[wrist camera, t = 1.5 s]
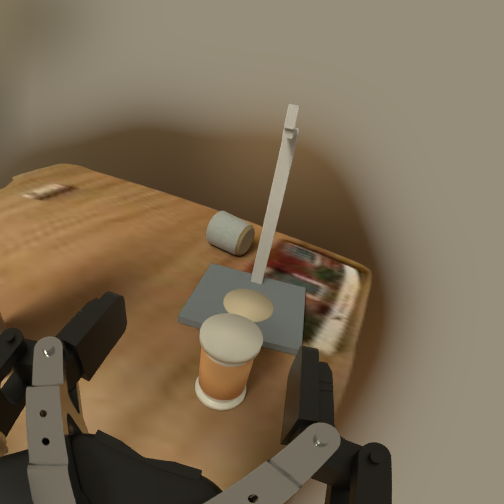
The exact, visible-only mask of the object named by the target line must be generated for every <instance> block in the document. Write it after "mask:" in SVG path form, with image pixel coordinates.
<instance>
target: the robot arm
mask: <svg viewBox="0 0 504 504" xmlns="http://www.w3.org/2000/svg"><path fill="white" fill-rule="evenodd" d="M126 325H127V318H126V310H125V301H124V297H123V296H121V295H118V294H115V293H112V292H109V291H108V292H106V293H105V294H104V295H103V296H102V297H101V298H100V299H97V298H96V299H94V300H92V301H90V302H88V303H87V304H86V305H85V306H84V307H83V308H82V309H81V311H79V312H78V313H77V314H76V315H75V317H73V318H72V319H71V320H70V322H69V323H68V324H67V325H66V326H65V327H64V328H63V329H62V330H61V331H60V332H59V333H58V334H57V336H56V337H52V336H48V337H44V338H42V339H40V340H39V341H38V342H37V341H32V340H28V339H24V337H23V335H22V333H21V331H20V330H19V329H16V328H9V329H7V327H6V325H5V323H4V320H3V318H2V316H1V313H0V385H1V382H2V380H3V379H4V377H5V376H6V375H7V373H8V372H9V371H10V369H11V368H12V369H13V371H14V372H13V373H12V374H11V376H10V377H9V378H8V380H7V381H6V383H5V384H4V385H3V387H2V388H1V389H0V504H283V503H285V502H286V501H287V500H288V499H289V498H290V497H291V496H293V495H294V494H295V493H296V492H297V491H298V490H299V489H300V488H301V486H302V485H303V484H304V483H305V482H306V481H307V480H308V479H309V478H312V479H315V480H317V481H320V482H323V483H325V484H327V490H326V498H325V504H392V471H391V469H392V468H391V455H390V452H389V450H388V449H387V448H386V447H385V446H383V445H382V444H379V443H368V444H366V445H364V446H360V445H358V444H355V443H352V442H349V441H347V440H345V439H343V438H342V437H341V436H340V435H339V433H338V431H337V430H336V429H335V426H334V403H333V385H332V384H333V378H332V371H331V369H330V368H329V366H328V364H327V363H325V362H319V351H318V349H316V348H311V347H305V346H300V348H299V350H298V352H297V355H296V357H295V359H294V362H293V364H292V366H291V369H290V372H289V375H288V381H287V391H286V400H285V409H284V418H283V426H282V434H281V442H280V444H282V445H287V446H286V447H285V448H284V449H283V450H281V451H280V452H279V453H278V454H277V455H275V456H274V457H273V458H271V459H270V460H267V461H265V462H264V463H263V464H261V465H260V466H259V467H257V468H256V469H255V470H253V471H252V472H250V473H249V474H248V475H246V476H245V477H244V478H242V479H241V480H239V481H238V482H236V483H235V484H233V485H232V486H230V487H229V488H227V489H226V490H224V491H222V490H221V489H220V488H219V487H218V486H217V485H216V484H214V483H213V482H212V481H210V480H209V479H207V478H206V477H204V476H202V475H201V473H202V470H199V469H196V468H192V467H189V466H186V465H183V464H179V463H176V462H172V461H164V460H156V459H150V458H145V457H143V456H141V455H140V454H138V453H137V452H135V451H134V450H133V449H131V448H130V447H129V446H127V445H126V444H125V443H123V442H122V441H120V440H118V439H116V438H114V437H112V436H110V435H108V434H106V433H104V432H102V431H100V430H98V431H97V432H96V434H89V433H88V430H87V427H86V425H85V422H84V419H83V413H82V406H81V399H80V390H79V383H78V381H79V380H80V378H81V377H82V378H83V379H85V380H87V381H90V380H91V378H92V377H93V375H94V374H95V372H96V371H97V369H98V368H99V367H100V365H101V364H102V362H103V361H104V360H105V358H106V357H107V355H108V354H109V353H110V351H111V350H112V348H113V347H114V346H115V344H116V343H117V342H118V340H119V339H120V337H121V336H122V335H123V333H124V332H125V329H126ZM25 405H26V427H27V441H28V449H27V450H24V451H20V452H17V453H13V454H9V455H6V454H7V453H8V447H7V445H6V444H7V442H6V437H7V435H8V433H9V431H10V430H11V428H12V426H13V425H14V423H15V421H16V420H17V418H18V416H19V415H20V413H21V411H22V410H23V408H24V407H25ZM4 455H5V456H4Z"/></svg>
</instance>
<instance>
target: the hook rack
mask: <svg viewBox="0 0 504 504" xmlns="http://www.w3.org/2000/svg"><path fill="white" fill-rule="evenodd" d="M298 111H299V106H297V105H293V104H289V106H288V111H287V115H286V120H285V124H284V131H283V135H282V137H283V139H282V144H281V148H280V153H279V157H278V162H277V166H276V171H275V175H274V179H273V184H272V189H271V193H270V198H269V202H268V206H267V211H266V215H265V220H264V224H263V229H262V233H261V237H260V242H259V246H258V251H257V255H256V259H255V264H254V268H253V273H252V274H251V273H247V272H243V271H239V270H236V269H232V268H228V267H225V266H221V265H217V264H214V263H211V265H210V267H209V268H208V270H207V271H206V273H205V274H204V276H203V277H202V279H201V280H200V282H199V284H198V285H197V287H196V288H195V290H194V291H193V293H192V295H191V296H190V298H189V299H188V301H187V302H186V304H185V306H184V307H183V309H182V310H181V312H180V313H179V315H178V322H180V323H183V324H186V325H189V326H192V327H195V328H198V329H200V328H201V326H202V324H203V323H204V321H205V320H207V319H208V318H209V317H211V316H214V315H217V314H223V313H231V314H237V315H240V316H243V317H246V318H248V319H249V320H251V321H252V322H254V323H255V324H256V325H257V326H258V327H259V329H260V330H261V332H262V335H263V343H262V346H261V347H265V348H268V349H272V350H277V351H281V352H285V353H289V354H293V355H297V352H298V350H299V348H300V346H302V336H303V322H304V307H305V289H306V288H304V287H300V286H296V285H292V284H288V283H285V282H281V281H277V280H273V279H269V278H266V277H264V273H265V269H266V266H267V262H268V258H269V254H270V250H271V246H272V242H273V238H274V234H275V229H276V225H277V221H278V217H279V213H280V209H281V205H282V201H283V197H284V192H285V188H286V184H287V180H288V176H289V172H290V167H291V163H292V158H293V154H294V150H295V146H296V142H297V137H298V132H299V129H297V128H295V124H296V120H297V115H298Z"/></svg>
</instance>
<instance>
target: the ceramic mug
mask: <svg viewBox="0 0 504 504" xmlns="http://www.w3.org/2000/svg"><path fill="white" fill-rule="evenodd" d="M254 234H255V232H254V228H253V226H252V225H250V224H249V223H247V222H245V221H243V220H241V219H239V218H237V217H235V216H233V215H231V214H229V213H227V212H225V211H220V212H218V213H217V214H215V215H214V216H213V218H212V219H211V221H210V223H209V225H208V228H207V232H206V239H207V241H208V243H210V244H212V245H214V246H216V247H218V248H220V249H223V250H225V251H227V252H229V253H231V254H234V255H237V256H240V255H243V254H244V253H246V252H247V250H248V249H249V247H250V246H251V244H252V242H253V239H254Z"/></svg>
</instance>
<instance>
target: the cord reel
mask: <svg viewBox="0 0 504 504" xmlns="http://www.w3.org/2000/svg"><path fill="white" fill-rule="evenodd" d="M199 340H200V344H201V357H200V368H199V376H198V377H197V379H196V384H195V392H196V395H197V397H198V399H199V400H200V401H201V402H202V403H203V404H204V405H205V406H207V407H209V408H211V409H214V410H219V411H226V410H231V409H234V408H236V407H237V406H239V405H240V404H241V403H242V401H243V400H244V397H245V394H246V383H247V380H248V377H249V374H250V371H251V367H252V364H253V361H254V358H255V357H256V356H257V355H258V354H259V352H260V349H261V346H262V343H263V335H262V332H261V330H260V329H259V327H258V326H257V325H256V324H255V323H254V322H252V321H251V320H249V319H248V318H246V317H243V316H240V315H237V314H231V313H223V314H217V315H214V316H211V317H209V318H208V319H207V320H205V321H204V323H203V324H202V326H201V328H200V336H199Z"/></svg>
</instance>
